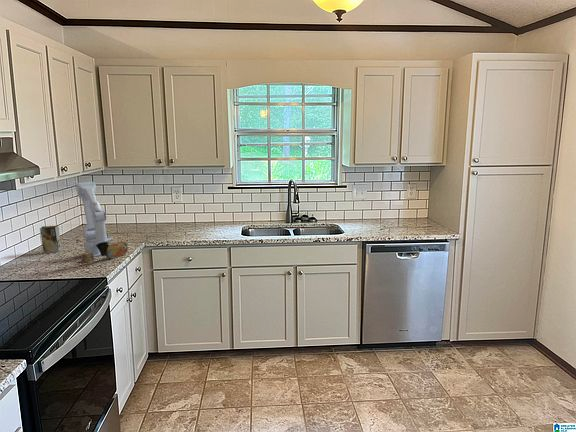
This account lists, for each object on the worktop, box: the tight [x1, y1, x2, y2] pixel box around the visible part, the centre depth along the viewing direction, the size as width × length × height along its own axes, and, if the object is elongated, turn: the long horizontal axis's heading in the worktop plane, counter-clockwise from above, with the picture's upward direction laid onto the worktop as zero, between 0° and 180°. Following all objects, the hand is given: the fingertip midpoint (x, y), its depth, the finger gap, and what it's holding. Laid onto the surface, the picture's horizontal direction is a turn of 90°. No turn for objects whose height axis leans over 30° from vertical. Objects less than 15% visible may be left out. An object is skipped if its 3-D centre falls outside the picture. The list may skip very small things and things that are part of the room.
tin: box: [104, 241, 129, 260], centre depth 249 cm, size 15×3×8 cm, turn 153°
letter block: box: [80, 252, 95, 263], centre depth 243 cm, size 5×4×5 cm
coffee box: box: [39, 225, 62, 254], centre depth 265 cm, size 9×6×16 cm
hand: (103, 255), depth 242 cm, fingers closed
